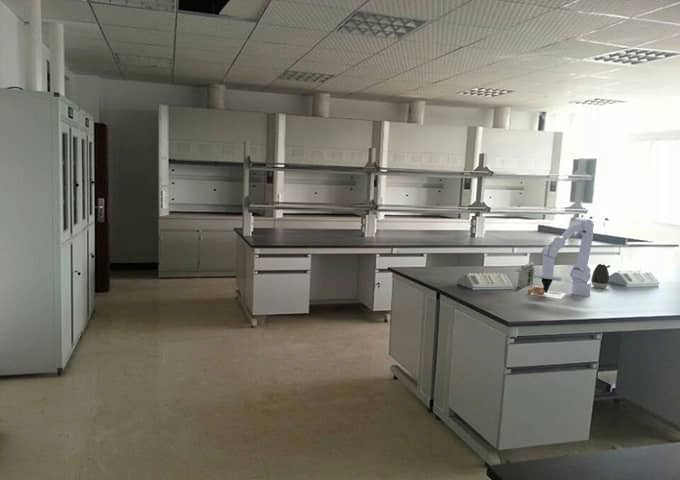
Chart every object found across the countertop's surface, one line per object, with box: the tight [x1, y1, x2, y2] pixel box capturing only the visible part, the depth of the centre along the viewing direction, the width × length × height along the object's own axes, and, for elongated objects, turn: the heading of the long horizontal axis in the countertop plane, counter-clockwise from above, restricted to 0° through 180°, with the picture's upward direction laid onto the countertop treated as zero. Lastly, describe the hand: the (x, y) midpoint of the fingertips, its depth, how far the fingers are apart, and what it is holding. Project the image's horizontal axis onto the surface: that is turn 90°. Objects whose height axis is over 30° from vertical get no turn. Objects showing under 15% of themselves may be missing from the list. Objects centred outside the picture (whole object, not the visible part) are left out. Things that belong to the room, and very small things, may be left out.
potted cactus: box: [590, 263, 611, 290], centre depth 329 cm, size 10×10×15 cm
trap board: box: [526, 286, 567, 300], centre depth 298 cm, size 18×18×4 cm
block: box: [533, 285, 545, 296], centre depth 296 cm, size 5×5×4 cm
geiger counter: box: [515, 261, 535, 289], centre depth 328 cm, size 14×6×25 cm
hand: (546, 292), depth 294 cm, fingers closed
